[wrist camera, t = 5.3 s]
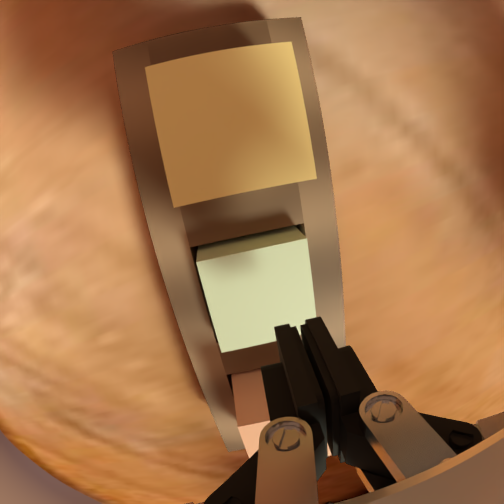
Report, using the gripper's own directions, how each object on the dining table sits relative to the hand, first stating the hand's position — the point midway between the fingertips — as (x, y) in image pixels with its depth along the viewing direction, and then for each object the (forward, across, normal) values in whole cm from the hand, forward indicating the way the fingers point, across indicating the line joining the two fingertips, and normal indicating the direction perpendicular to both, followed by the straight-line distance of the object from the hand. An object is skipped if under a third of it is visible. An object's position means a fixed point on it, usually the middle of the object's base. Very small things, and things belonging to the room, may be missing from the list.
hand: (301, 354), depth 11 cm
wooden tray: (+10, +1, 0) cm, 10 cm away
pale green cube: (+9, +1, 0) cm, 9 cm away
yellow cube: (+7, +1, -8) cm, 11 cm away
